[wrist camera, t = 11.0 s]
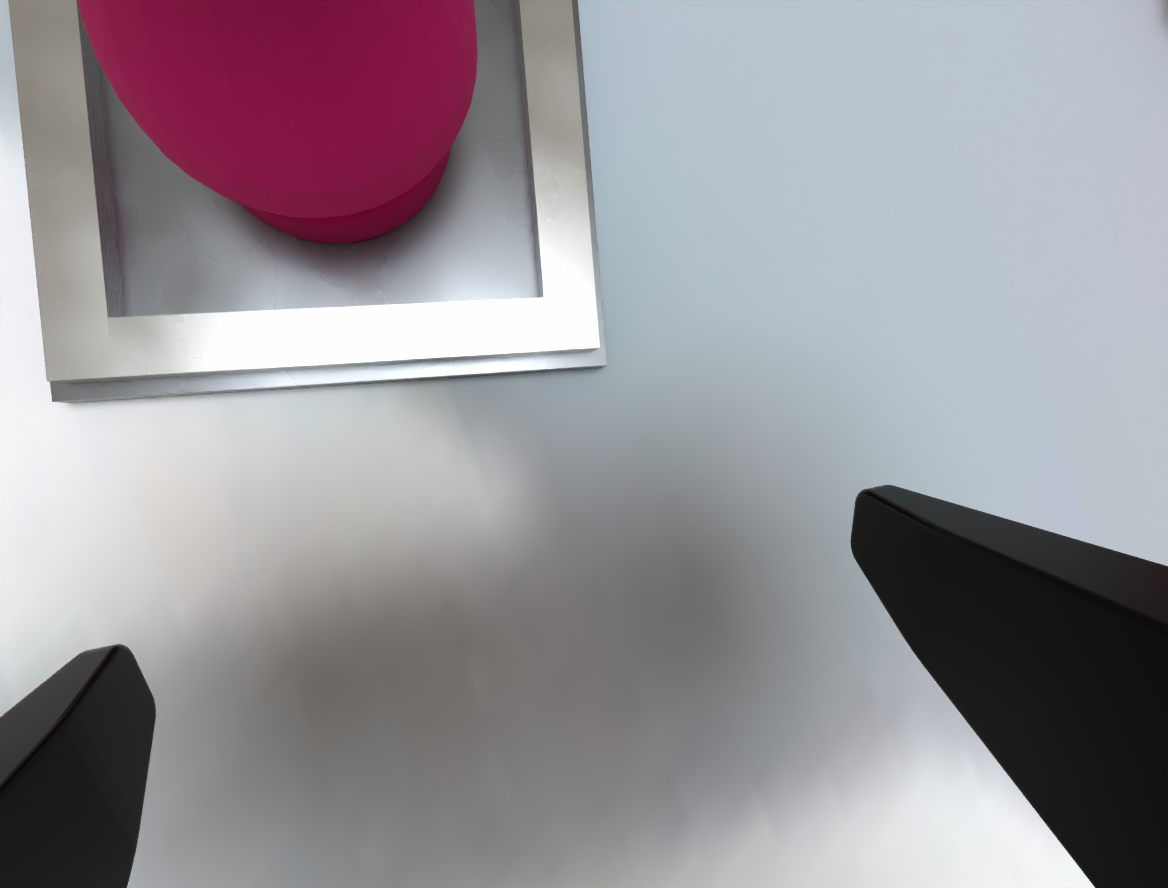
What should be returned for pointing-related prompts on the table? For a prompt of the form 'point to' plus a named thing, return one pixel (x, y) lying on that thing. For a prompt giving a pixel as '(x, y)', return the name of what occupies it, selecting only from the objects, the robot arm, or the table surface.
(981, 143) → the table surface
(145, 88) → the pepper mill
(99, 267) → the silver dock
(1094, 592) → the robot arm
